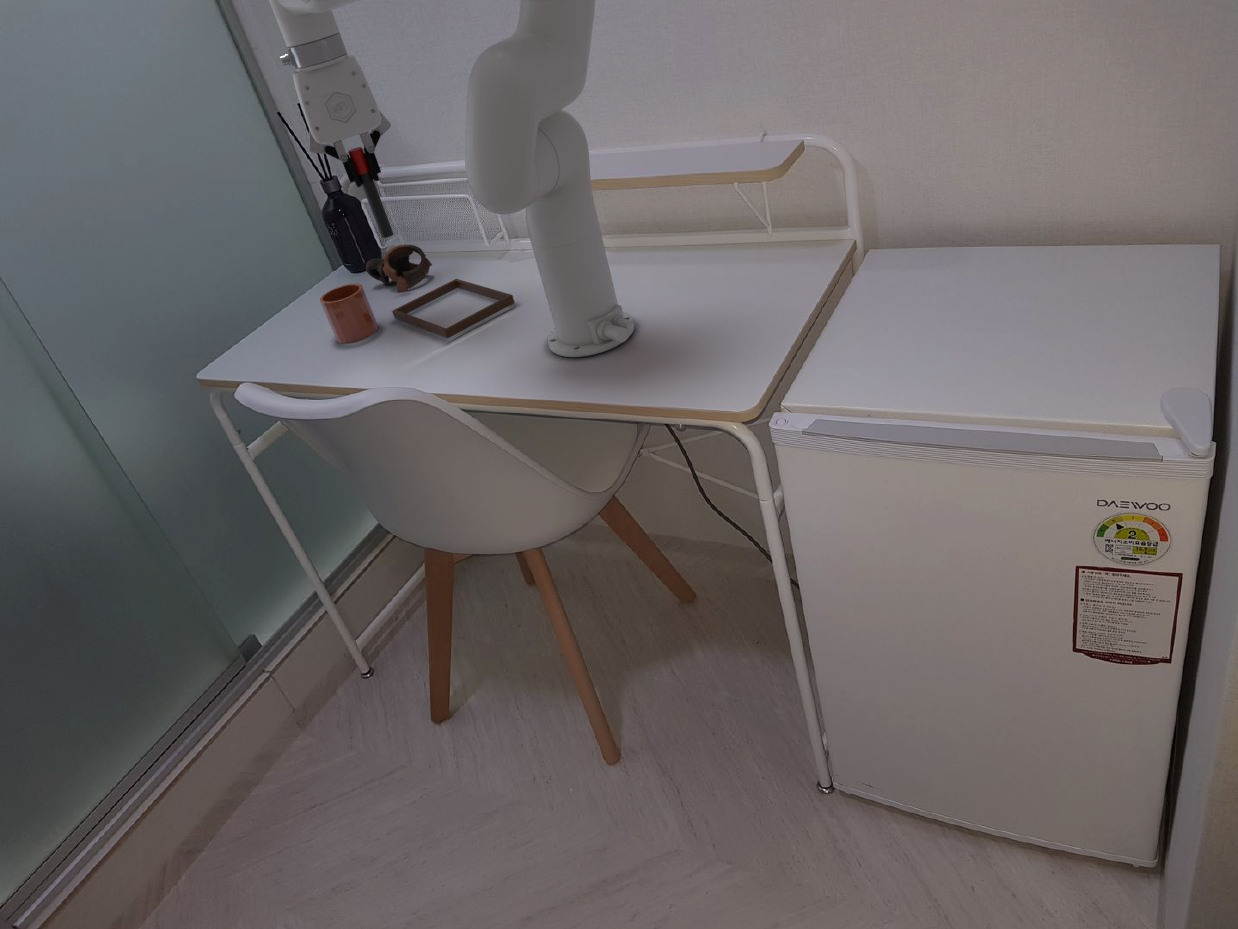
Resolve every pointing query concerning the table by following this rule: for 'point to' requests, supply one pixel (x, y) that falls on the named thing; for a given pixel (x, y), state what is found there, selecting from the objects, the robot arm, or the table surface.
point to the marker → (371, 191)
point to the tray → (463, 324)
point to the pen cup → (349, 313)
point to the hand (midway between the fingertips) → (367, 181)
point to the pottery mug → (399, 267)
